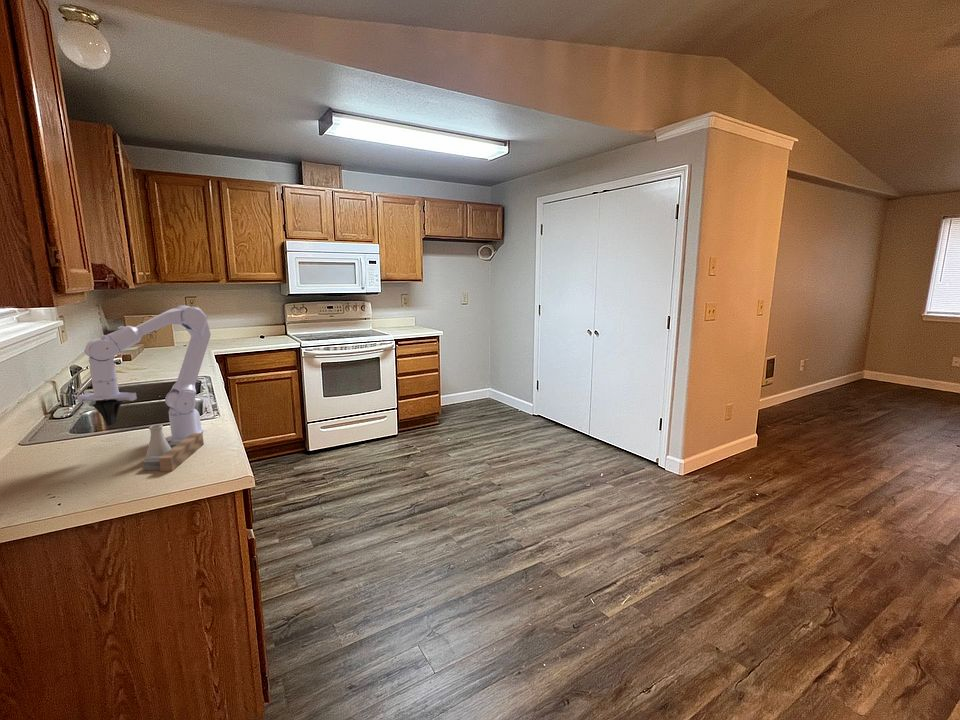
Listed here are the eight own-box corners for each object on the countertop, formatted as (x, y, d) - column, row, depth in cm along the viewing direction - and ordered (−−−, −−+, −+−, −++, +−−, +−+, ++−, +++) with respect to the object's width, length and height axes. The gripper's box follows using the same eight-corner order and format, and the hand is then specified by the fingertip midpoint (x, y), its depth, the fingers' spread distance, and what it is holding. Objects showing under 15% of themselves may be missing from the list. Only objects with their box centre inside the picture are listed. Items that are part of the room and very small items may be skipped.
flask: (180, 454, 135) (176, 423, 133) (160, 464, 128) (155, 431, 126) (160, 452, 137) (155, 421, 135) (138, 462, 130) (133, 429, 128)
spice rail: (176, 445, 142) (174, 433, 141) (203, 444, 143) (202, 432, 142) (140, 472, 123) (138, 459, 122) (172, 471, 124) (170, 457, 123)
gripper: (66, 384, 126) (74, 429, 129) (123, 382, 129) (130, 427, 131) (83, 378, 133) (90, 421, 136) (137, 377, 135) (143, 419, 138)
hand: (111, 424), depth 134 cm, fingers closed
